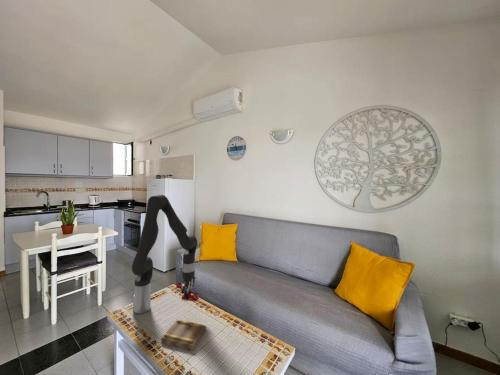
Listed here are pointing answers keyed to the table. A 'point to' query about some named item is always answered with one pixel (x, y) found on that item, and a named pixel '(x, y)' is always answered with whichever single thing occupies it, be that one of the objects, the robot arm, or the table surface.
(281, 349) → the table surface
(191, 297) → the toy fire truck
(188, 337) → the platform
